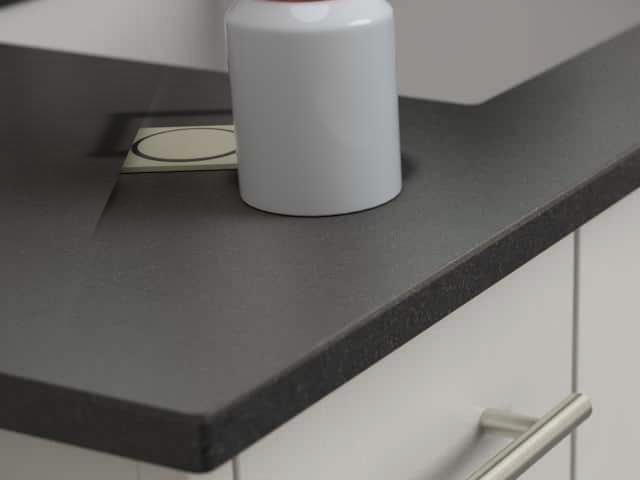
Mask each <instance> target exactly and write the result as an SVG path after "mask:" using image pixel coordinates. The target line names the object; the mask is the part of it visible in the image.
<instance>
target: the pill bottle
mask: <svg viewBox="0 0 640 480" xmlns="http://www.w3.org/2000/svg"><path fill="white" fill-rule="evenodd" d="M223 29H224V38H225V39H224V40H225V49H226V60H227V70H228V81H229V92H230V93H229V94H230V103H231V113H232V114H231V115H232V125H234V136H235V147H236V157H237V168H238V169H237V178H238V187H239V196H240V197H241V199H242V201H243V202H245V204H247V205H248V206H250V207H253V208H254V209H257V210H260V211H264V212H267V213H271V214H277V215H282V216H283V215H284V216H296V217H323V216H335V215H336V216H337V215H345V214H351V213H356V212H357V213H358V212H361V211H365V210H368V209H373V208H376V207H379V206H382V205H384V204H386V203H388V202H390V201H391V200H393V199H394V198H396V197H397V196H398V195H399V194H400V193H401V191H402V190H403V189H402V188H403V178H402V176H403V175H402V174H403V173H402V154H401V153H402V152H401V135H400V134H401V133H400V112H399V111H400V109H399V108H400V107H399V92H398V91H399V90H398V89H399V88H398V87H399V86H398V69H397V68H398V67H397V45H396V21H395V11H394V8H393V5H392V4H391V3H390V2H389V1H388V0H234V1H233V2H232V3H231V4H230V5H229V6H228V8H226V10H225V12H224V16H223Z"/></svg>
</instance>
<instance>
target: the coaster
mask: <svg viewBox="0 0 640 480" xmlns="http://www.w3.org/2000/svg"><path fill="white" fill-rule="evenodd" d="M212 170H213V171H214V170H215V171H217V170H238V168H237V157H236V147H235V136H234V125H233V124H227V125H225V124H221V125H196V126H195V125H194V126H166V127H163V126H162V127H139V128H138V130H137V133H136V135H135V138H134V140H133V142H132V144H131V147H130V148H129V151H128V153H127V155H126V158H125V159H124V162H123V165H122V166H121V168H120V171H119V174H125V173H128V174H129V173H130V174H131V173H155V172H157V173H158V172H180V171H181V172H185V171H186V172H187V171H212Z"/></svg>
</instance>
